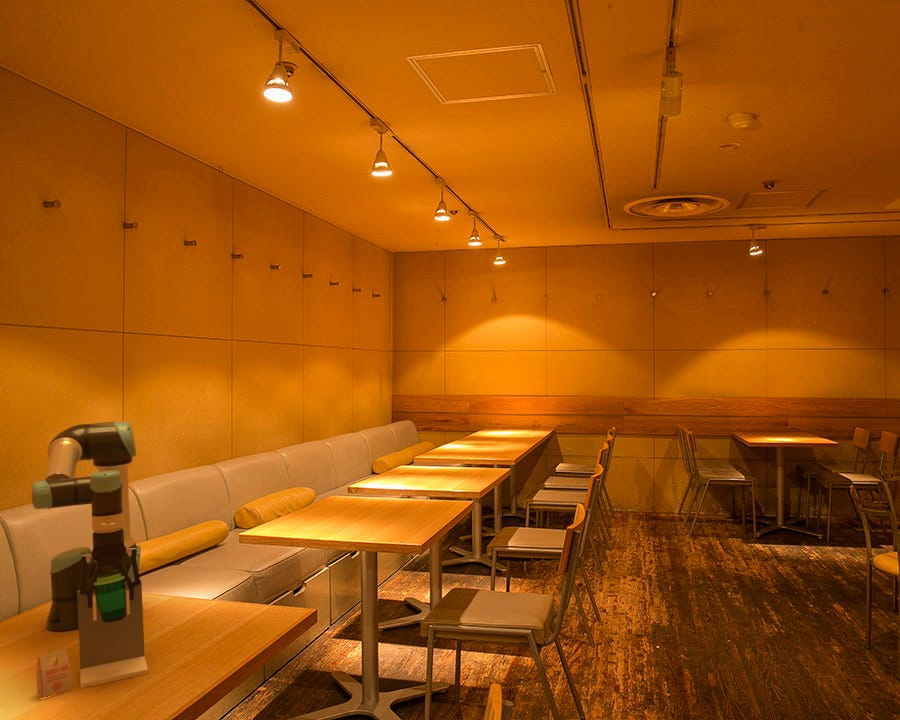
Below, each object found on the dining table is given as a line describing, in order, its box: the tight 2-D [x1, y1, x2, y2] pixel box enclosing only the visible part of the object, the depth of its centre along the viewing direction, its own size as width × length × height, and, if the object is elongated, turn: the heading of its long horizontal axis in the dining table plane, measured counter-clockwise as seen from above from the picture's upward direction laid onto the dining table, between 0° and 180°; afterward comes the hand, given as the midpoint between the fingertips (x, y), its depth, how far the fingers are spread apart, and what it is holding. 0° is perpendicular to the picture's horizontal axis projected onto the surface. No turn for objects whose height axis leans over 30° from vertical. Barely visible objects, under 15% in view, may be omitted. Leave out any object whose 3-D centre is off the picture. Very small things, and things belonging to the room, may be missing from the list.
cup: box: [94, 570, 126, 622], centre depth 194 cm, size 8×8×12 cm
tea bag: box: [35, 649, 72, 698], centre depth 185 cm, size 4×7×10 cm, turn 134°
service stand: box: [77, 579, 149, 689], centre depth 196 cm, size 12×16×22 cm
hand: (111, 615), depth 194 cm, fingers closed on cup, 7 cm apart
